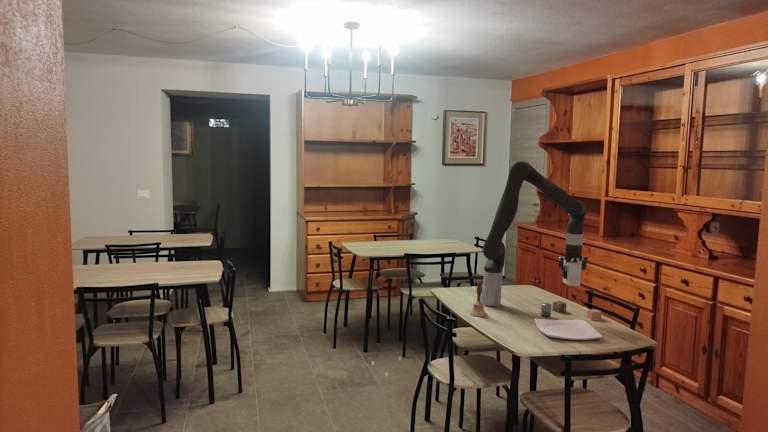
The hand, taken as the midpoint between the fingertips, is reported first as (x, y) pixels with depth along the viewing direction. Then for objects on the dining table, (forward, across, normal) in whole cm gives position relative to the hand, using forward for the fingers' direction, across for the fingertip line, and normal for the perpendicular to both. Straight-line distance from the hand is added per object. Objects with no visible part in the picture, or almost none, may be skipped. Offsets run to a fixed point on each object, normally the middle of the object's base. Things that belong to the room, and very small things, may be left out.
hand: (571, 278), depth 242 cm
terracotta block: (+20, +13, -1) cm, 23 cm away
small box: (+3, 0, 0) cm, 3 cm away
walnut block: (+20, +2, +12) cm, 23 cm away
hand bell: (+20, -41, +10) cm, 47 cm away
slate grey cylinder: (+20, -9, +5) cm, 22 cm away
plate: (+20, -11, -18) cm, 29 cm away
